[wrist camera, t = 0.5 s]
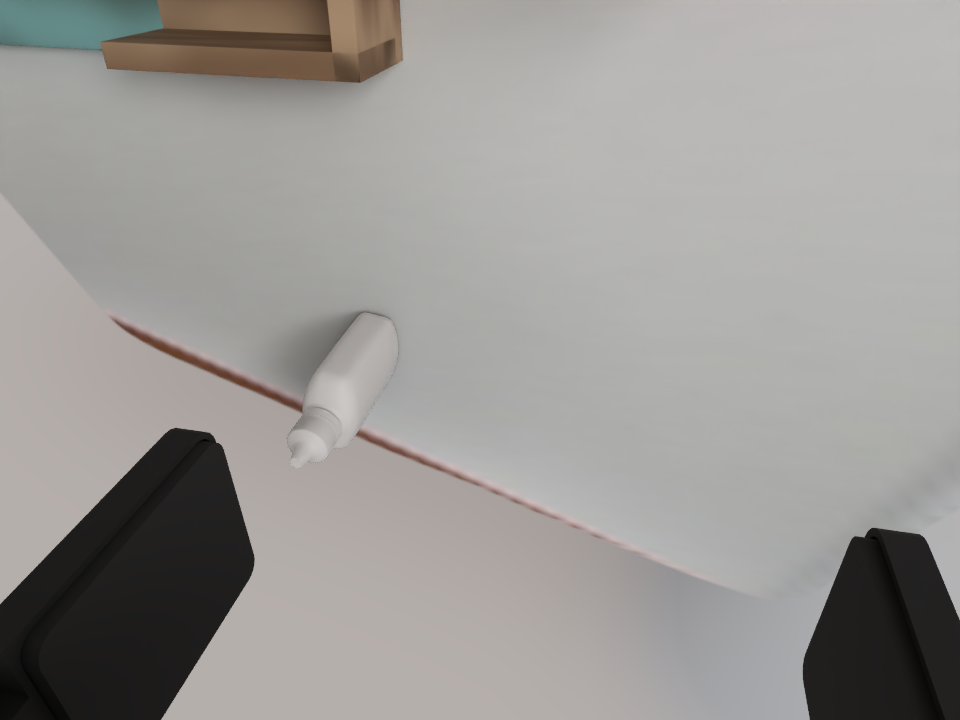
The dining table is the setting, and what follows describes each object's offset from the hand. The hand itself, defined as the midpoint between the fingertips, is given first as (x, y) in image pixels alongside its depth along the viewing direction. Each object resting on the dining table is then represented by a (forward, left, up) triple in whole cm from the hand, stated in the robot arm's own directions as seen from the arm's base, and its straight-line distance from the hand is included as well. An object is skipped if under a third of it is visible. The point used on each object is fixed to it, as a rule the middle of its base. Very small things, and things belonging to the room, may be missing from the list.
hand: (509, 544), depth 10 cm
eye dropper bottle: (+16, -14, -30) cm, 37 cm away
